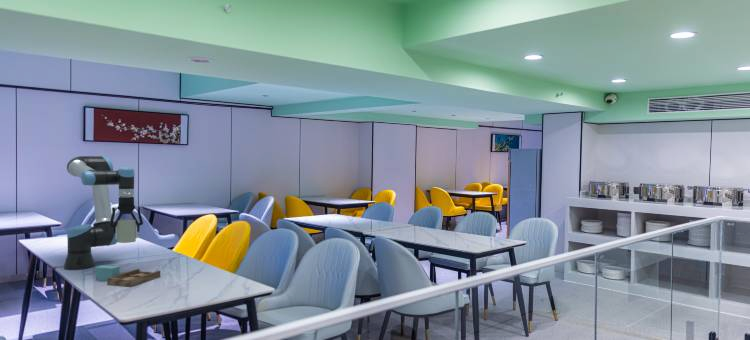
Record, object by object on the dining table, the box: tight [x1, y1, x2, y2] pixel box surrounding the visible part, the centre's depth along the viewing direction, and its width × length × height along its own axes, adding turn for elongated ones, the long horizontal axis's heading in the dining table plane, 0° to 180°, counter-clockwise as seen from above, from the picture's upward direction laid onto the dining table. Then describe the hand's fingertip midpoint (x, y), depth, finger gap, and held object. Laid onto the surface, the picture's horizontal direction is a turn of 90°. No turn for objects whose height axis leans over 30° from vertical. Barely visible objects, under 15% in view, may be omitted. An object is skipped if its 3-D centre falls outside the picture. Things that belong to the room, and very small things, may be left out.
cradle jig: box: [106, 268, 161, 288], centre depth 269 cm, size 14×22×3 cm, turn 166°
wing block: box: [95, 264, 120, 283], centre depth 269 cm, size 10×5×7 cm, turn 76°
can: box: [117, 218, 137, 244], centre depth 281 cm, size 9×9×12 cm
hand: (126, 238), depth 281 cm, fingers closed on can, 9 cm apart
